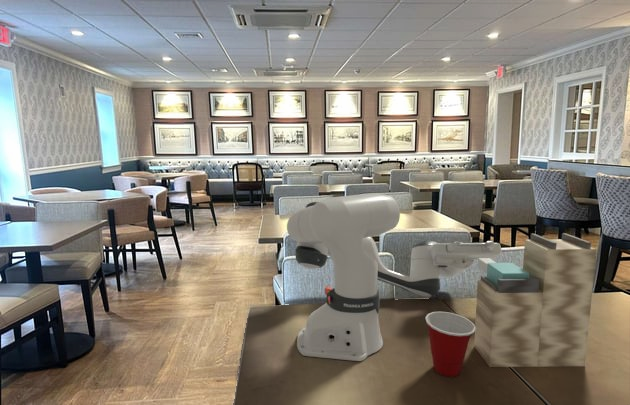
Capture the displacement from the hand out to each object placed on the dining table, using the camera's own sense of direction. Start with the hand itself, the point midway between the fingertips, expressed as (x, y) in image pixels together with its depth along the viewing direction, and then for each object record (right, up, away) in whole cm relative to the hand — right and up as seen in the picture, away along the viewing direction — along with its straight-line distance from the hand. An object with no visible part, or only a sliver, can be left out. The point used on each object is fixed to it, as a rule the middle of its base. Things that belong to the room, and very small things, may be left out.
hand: (474, 243), depth 112 cm
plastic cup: (-16, -27, -23) cm, 39 cm away
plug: (0, -7, -15) cm, 17 cm away
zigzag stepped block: (+5, -25, -18) cm, 32 cm away
